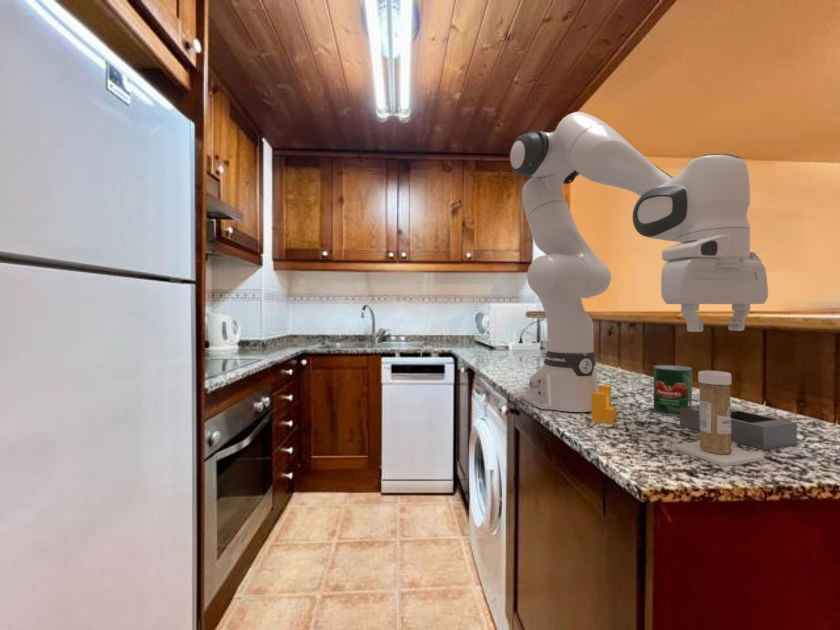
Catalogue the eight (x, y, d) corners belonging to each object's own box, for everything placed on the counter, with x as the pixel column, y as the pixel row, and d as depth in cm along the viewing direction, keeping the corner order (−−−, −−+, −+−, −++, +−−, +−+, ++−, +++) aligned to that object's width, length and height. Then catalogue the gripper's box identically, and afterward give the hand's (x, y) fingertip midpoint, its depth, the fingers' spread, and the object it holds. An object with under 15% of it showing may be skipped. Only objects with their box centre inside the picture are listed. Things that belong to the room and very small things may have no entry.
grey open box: (680, 425, 85) (679, 406, 85) (710, 422, 88) (710, 403, 88) (763, 449, 70) (763, 426, 70) (796, 444, 72) (796, 422, 72)
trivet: (672, 448, 71) (672, 444, 71) (710, 443, 74) (710, 439, 74) (723, 466, 62) (723, 462, 62) (764, 460, 65) (764, 456, 65)
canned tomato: (658, 415, 94) (658, 368, 94) (649, 407, 101) (649, 364, 101) (697, 417, 91) (697, 369, 91) (685, 409, 99) (685, 365, 99)
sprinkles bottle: (734, 456, 65) (733, 374, 65) (700, 452, 67) (699, 372, 67) (729, 448, 69) (728, 370, 69) (697, 444, 71) (696, 369, 71)
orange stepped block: (613, 424, 87) (613, 395, 87) (591, 422, 89) (591, 393, 89) (618, 412, 97) (618, 386, 97) (599, 410, 99) (599, 384, 99)
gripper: (741, 254, 74) (740, 329, 74) (654, 250, 68) (653, 331, 68) (780, 249, 68) (779, 330, 68) (688, 244, 62) (688, 333, 62)
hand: (716, 331), depth 68 cm, fingers open, 8 cm apart
